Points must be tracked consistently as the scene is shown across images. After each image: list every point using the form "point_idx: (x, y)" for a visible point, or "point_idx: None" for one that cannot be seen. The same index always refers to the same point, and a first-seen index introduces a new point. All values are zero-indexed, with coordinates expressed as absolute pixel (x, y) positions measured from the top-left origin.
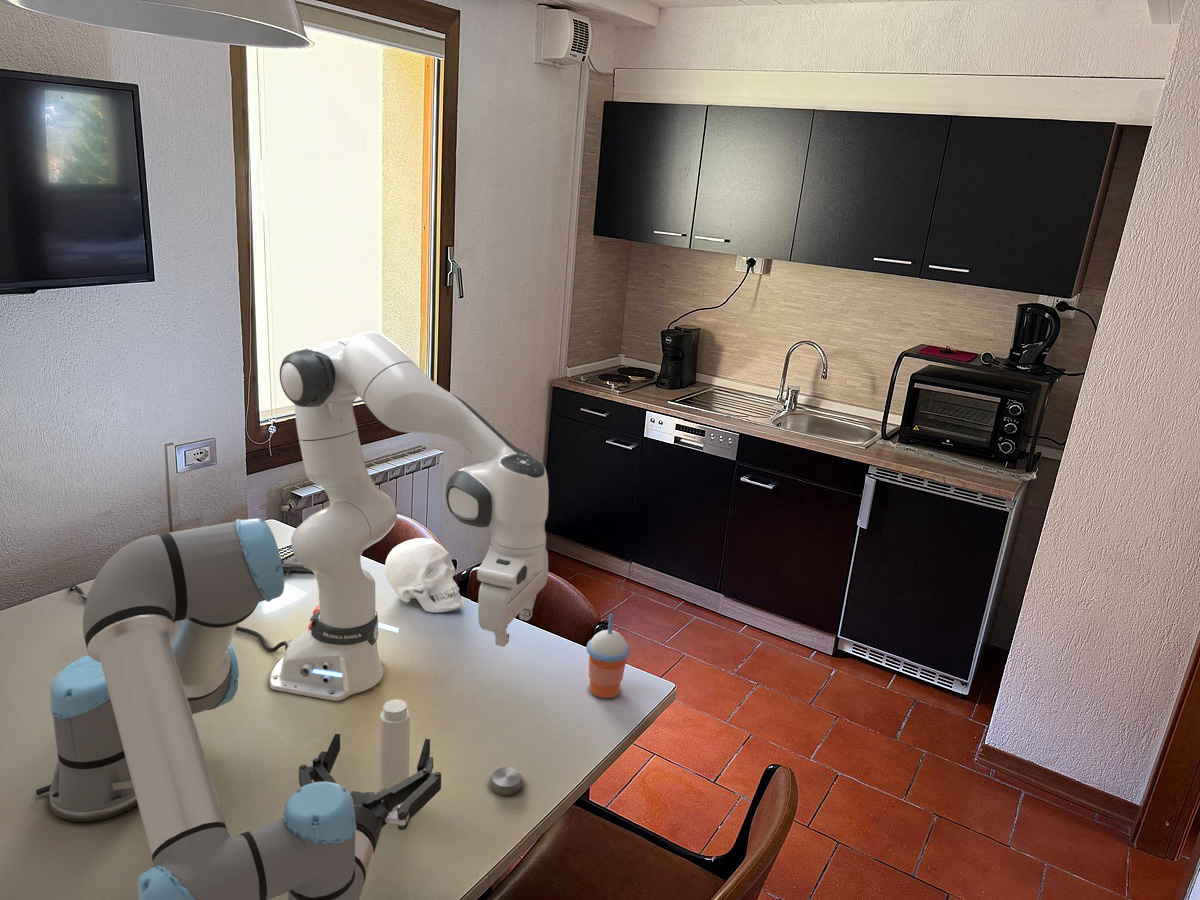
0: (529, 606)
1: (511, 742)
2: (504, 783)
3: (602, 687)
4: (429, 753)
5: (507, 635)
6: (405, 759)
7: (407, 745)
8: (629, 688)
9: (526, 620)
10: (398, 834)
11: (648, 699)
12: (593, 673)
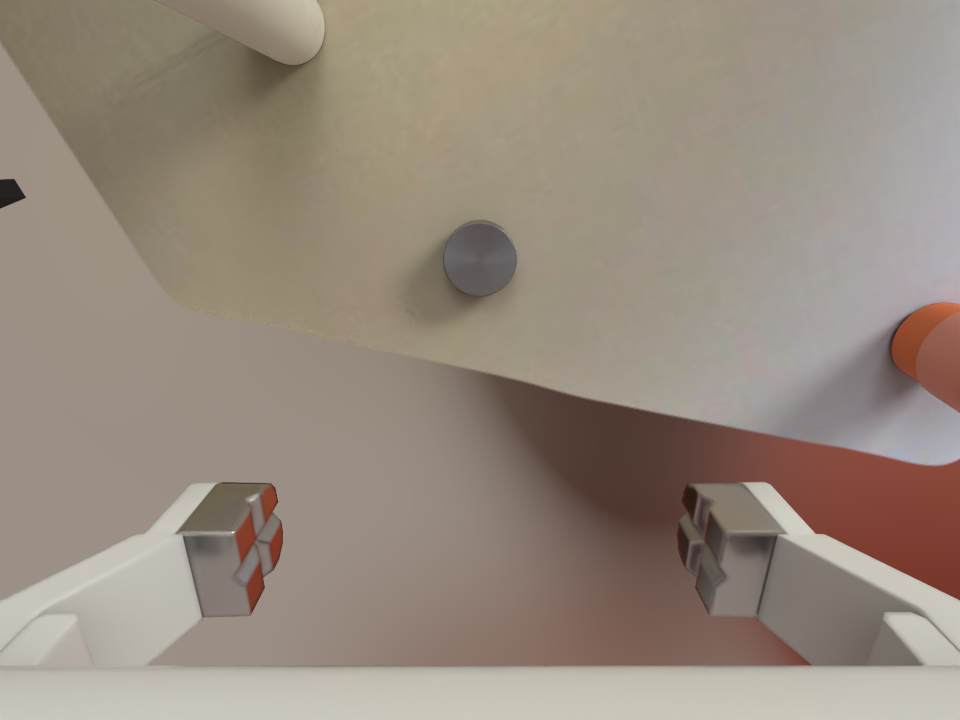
0: (789, 623)
1: (639, 197)
2: (455, 266)
3: (913, 357)
4: (8, 201)
5: (211, 615)
6: (210, 26)
7: (195, 14)
8: None
9: (678, 535)
10: (217, 93)
11: (907, 443)
12: (954, 340)
